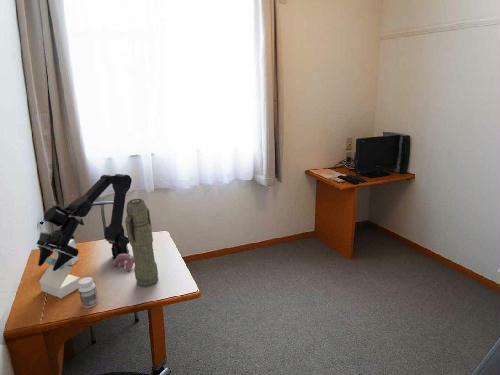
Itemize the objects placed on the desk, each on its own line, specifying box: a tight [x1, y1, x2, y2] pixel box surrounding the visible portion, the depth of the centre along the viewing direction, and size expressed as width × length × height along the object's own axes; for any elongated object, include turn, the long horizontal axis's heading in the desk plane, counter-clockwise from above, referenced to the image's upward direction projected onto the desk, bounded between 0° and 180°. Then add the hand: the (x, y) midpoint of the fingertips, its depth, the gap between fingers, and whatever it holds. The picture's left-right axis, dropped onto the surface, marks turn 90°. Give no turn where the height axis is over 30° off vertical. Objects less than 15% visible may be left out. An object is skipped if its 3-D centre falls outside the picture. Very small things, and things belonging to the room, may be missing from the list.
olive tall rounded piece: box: [124, 198, 159, 288], centre depth 139 cm, size 9×12×35 cm
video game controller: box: [111, 254, 135, 272], centre depth 156 cm, size 10×5×7 cm, turn 66°
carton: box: [39, 273, 81, 299], centre depth 142 cm, size 9×12×4 cm
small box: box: [52, 239, 79, 266], centre depth 162 cm, size 8×6×10 cm
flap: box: [38, 257, 73, 289], centre depth 137 cm, size 9×12×7 cm
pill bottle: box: [78, 276, 99, 309], centre depth 130 cm, size 6×6×10 cm
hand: (46, 268), depth 136 cm, fingers open, 9 cm apart
